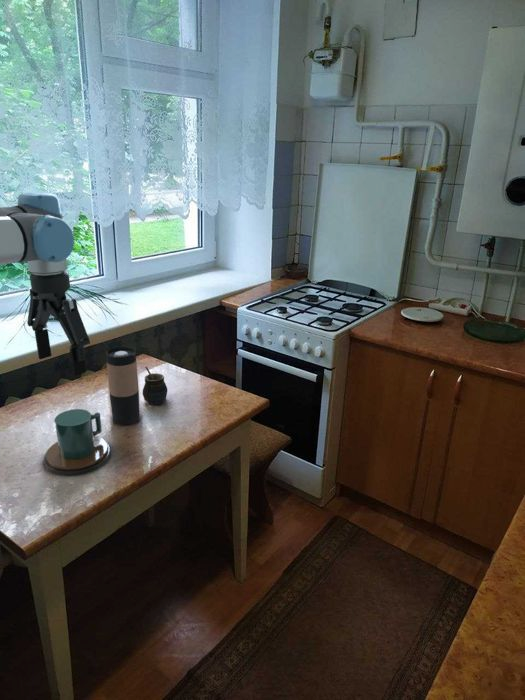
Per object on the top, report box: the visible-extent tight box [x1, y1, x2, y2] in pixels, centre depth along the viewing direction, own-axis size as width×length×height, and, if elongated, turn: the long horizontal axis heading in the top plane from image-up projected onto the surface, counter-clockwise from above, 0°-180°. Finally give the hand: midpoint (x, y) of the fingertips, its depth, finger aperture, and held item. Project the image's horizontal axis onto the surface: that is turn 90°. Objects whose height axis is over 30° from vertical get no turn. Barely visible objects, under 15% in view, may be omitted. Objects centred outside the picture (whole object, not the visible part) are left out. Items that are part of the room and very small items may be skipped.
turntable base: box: [43, 441, 111, 476], centre depth 119 cm, size 15×15×1 cm
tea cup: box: [45, 408, 109, 470], centre depth 117 cm, size 14×14×10 cm
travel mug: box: [105, 346, 140, 426], centre depth 133 cm, size 8×8×20 cm
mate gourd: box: [142, 366, 168, 406], centre depth 145 cm, size 7×8×10 cm
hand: (61, 365), depth 110 cm, fingers open, 13 cm apart
